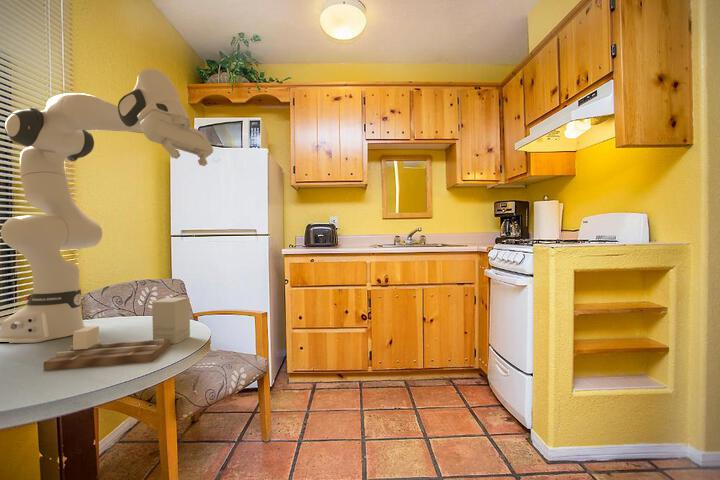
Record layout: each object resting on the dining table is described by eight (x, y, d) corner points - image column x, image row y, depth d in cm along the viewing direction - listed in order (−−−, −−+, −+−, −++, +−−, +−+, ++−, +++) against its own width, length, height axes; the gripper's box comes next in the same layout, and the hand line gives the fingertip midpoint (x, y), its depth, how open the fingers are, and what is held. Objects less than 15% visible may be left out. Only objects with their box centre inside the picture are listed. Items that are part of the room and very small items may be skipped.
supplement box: (190, 337, 100) (190, 297, 100) (175, 344, 93) (174, 301, 93) (169, 336, 101) (168, 297, 101) (151, 344, 94) (151, 301, 94)
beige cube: (68, 354, 79) (68, 332, 79) (81, 347, 84) (81, 327, 84) (91, 352, 80) (91, 331, 80) (103, 346, 85) (103, 325, 85)
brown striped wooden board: (43, 370, 75) (43, 357, 75) (77, 353, 86) (76, 342, 86) (152, 361, 80) (152, 349, 80) (170, 346, 91) (170, 335, 91)
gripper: (194, 137, 102) (211, 173, 100) (130, 114, 82) (149, 158, 80) (208, 126, 100) (225, 163, 98) (146, 99, 80) (166, 145, 78)
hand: (190, 161), depth 89 cm, fingers open, 8 cm apart
